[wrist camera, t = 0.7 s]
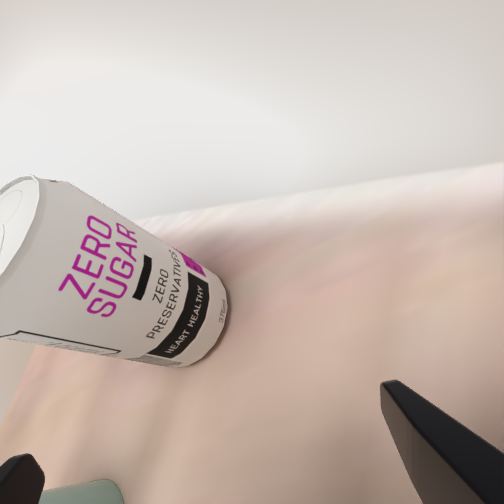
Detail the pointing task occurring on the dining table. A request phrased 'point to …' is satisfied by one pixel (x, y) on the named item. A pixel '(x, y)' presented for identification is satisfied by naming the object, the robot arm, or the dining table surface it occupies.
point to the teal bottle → (84, 494)
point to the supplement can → (99, 280)
